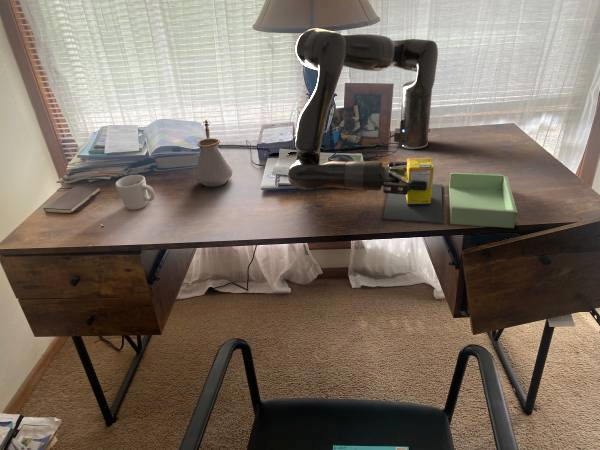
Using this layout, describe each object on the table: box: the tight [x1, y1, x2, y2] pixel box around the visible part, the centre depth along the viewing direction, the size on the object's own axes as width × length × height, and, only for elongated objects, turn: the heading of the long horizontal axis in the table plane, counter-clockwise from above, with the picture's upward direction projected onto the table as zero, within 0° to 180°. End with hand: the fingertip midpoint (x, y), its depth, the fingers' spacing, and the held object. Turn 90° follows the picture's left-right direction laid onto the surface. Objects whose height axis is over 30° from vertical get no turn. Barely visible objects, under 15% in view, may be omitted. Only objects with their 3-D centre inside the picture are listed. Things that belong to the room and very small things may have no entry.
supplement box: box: [405, 157, 435, 206], centre depth 112 cm, size 6×6×11 cm
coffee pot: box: [194, 119, 234, 188], centre depth 136 cm, size 21×12×15 cm, turn 11°
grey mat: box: [382, 183, 443, 224], centre depth 115 cm, size 14×20×1 cm
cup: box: [114, 174, 156, 211], centre depth 123 cm, size 11×8×8 cm
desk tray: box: [448, 172, 518, 229], centre depth 110 cm, size 14×20×4 cm
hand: (427, 178), depth 111 cm, fingers open, 8 cm apart
